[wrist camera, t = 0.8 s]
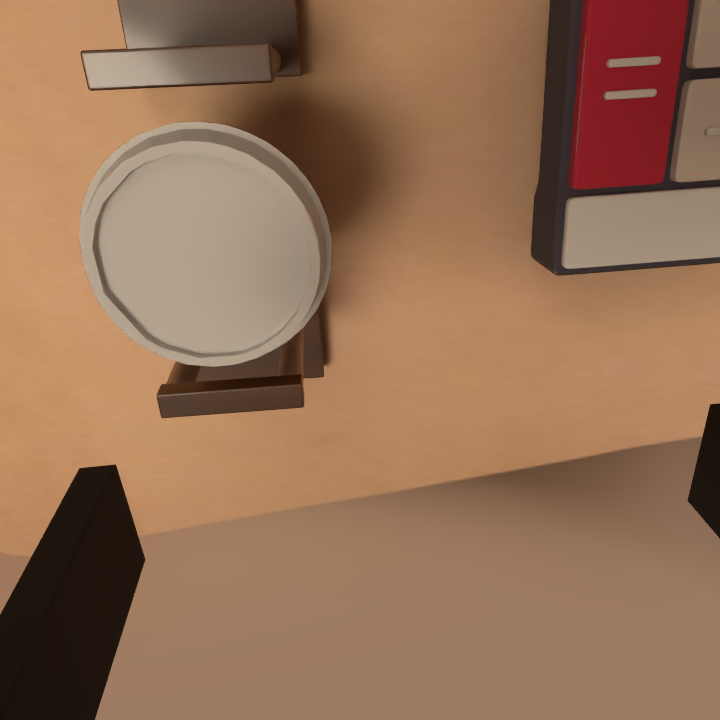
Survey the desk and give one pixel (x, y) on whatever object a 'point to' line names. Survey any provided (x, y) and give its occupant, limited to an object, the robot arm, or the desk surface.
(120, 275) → the disposable coffee cup
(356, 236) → the desk surface
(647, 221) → the calculator
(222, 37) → the bookends
